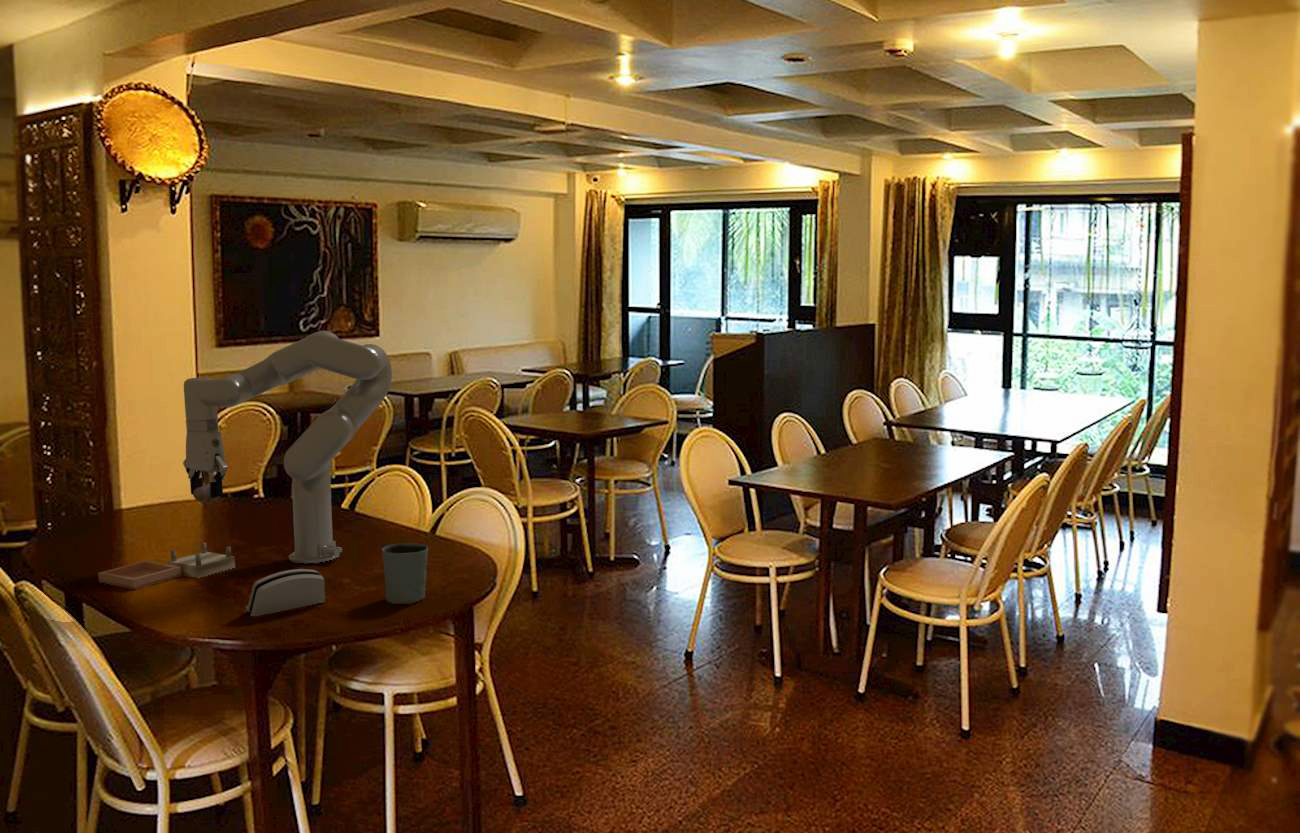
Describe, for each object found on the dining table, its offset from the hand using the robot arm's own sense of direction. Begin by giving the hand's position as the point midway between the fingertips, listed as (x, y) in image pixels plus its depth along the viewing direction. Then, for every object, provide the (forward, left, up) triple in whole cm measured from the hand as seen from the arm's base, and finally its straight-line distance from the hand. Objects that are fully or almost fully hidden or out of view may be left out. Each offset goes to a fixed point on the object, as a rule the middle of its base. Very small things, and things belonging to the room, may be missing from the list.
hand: (206, 494), depth 284 cm
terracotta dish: (+1, +20, -17) cm, 27 cm away
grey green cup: (-67, +2, -18) cm, 70 cm away
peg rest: (-5, +7, -17) cm, 20 cm away
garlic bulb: (0, 0, -2) cm, 2 cm away
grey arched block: (-49, +20, -18) cm, 56 cm away
